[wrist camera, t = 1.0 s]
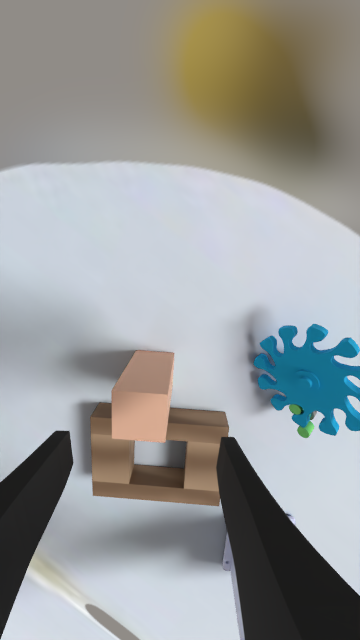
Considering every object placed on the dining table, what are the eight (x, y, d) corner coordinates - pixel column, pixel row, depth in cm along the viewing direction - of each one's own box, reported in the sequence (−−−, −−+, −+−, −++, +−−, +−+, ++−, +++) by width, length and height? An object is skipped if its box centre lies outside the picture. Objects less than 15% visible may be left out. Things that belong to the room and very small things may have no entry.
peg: (172, 387, 25) (165, 442, 17) (135, 384, 25) (111, 438, 17) (174, 352, 24) (167, 394, 16) (136, 350, 24) (111, 390, 16)
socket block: (216, 484, 27) (218, 506, 25) (101, 475, 28) (92, 495, 25) (225, 412, 25) (229, 427, 23) (99, 402, 25) (90, 416, 23)
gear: (254, 315, 21) (402, 351, 14) (282, 301, 25) (410, 324, 18) (246, 410, 25) (359, 474, 18) (272, 385, 29) (372, 430, 22)
